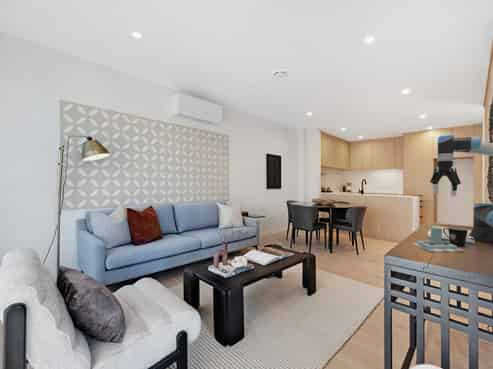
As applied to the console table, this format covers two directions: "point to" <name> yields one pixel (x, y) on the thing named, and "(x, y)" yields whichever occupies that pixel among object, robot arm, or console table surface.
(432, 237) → the panel
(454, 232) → the coffee mug
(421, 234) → the console table surface
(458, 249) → the boss board
